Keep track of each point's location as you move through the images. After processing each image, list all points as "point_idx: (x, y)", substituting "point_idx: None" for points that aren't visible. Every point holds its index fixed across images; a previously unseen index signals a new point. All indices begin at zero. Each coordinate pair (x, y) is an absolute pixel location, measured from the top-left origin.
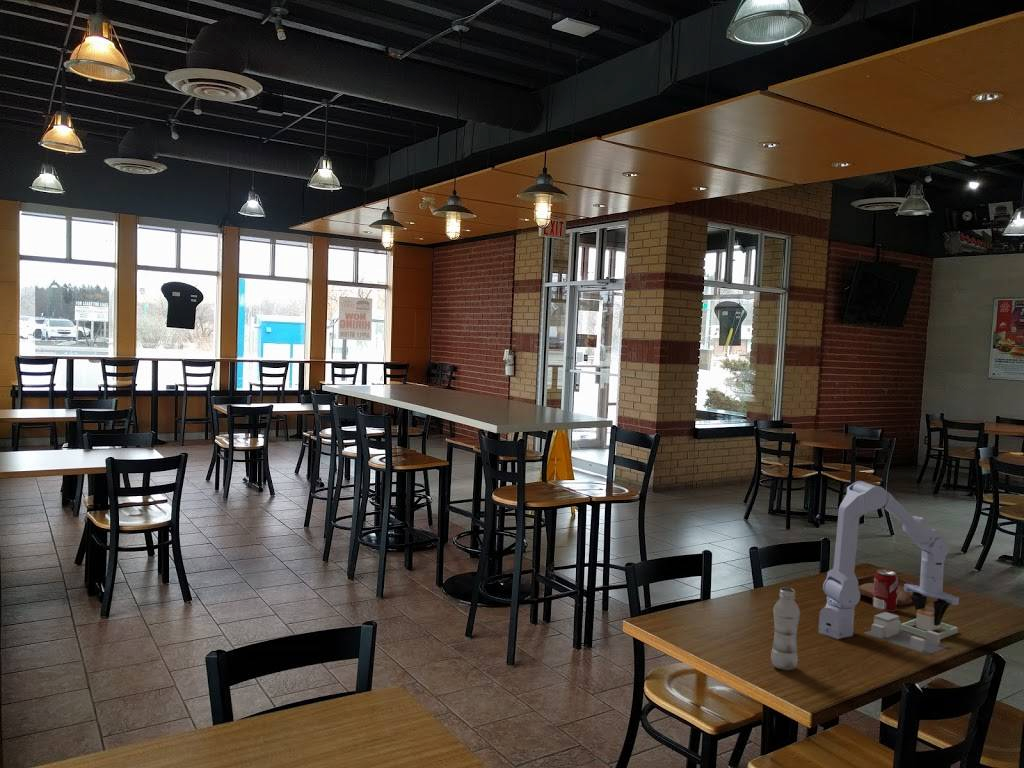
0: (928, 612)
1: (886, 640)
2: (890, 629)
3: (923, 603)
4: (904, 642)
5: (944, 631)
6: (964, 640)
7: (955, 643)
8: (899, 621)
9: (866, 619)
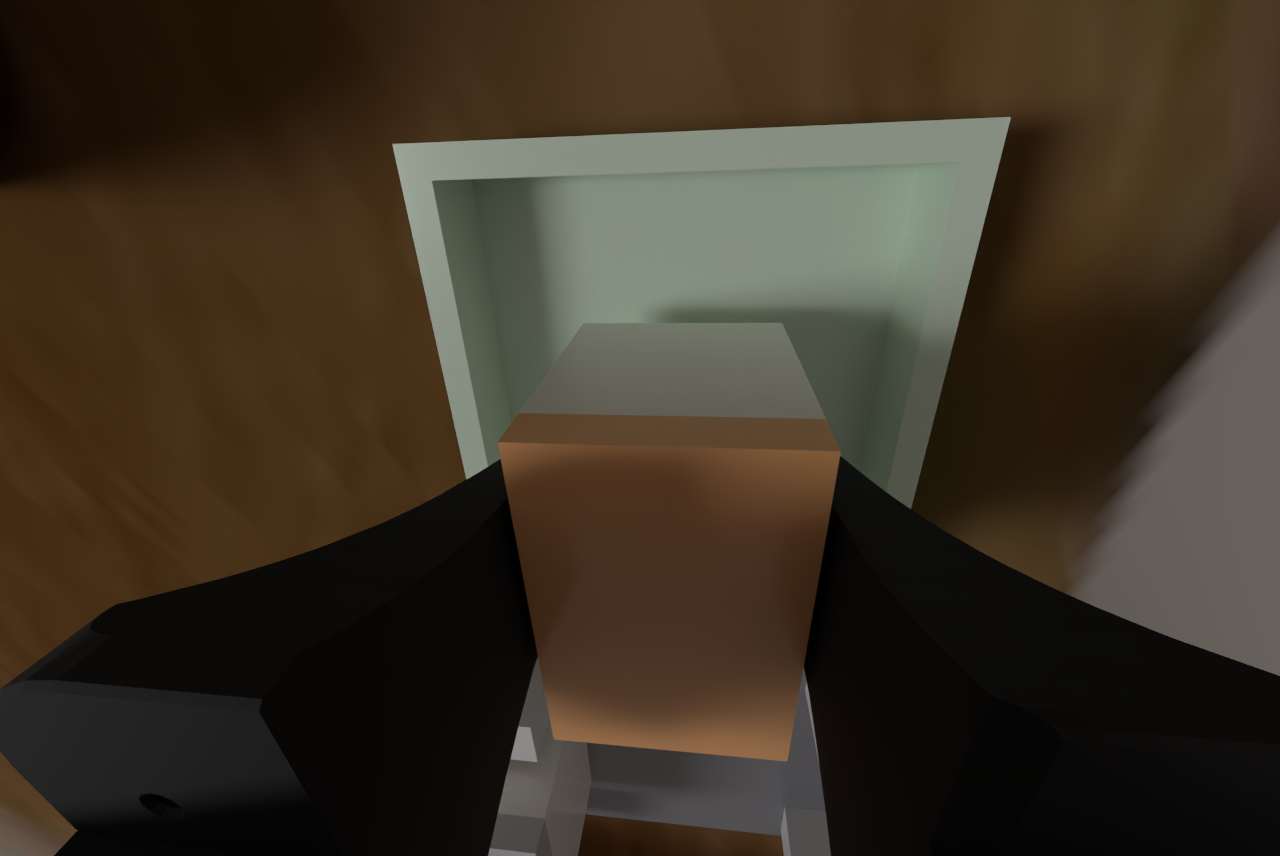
0: (718, 722)
1: (622, 815)
2: (577, 814)
3: (475, 632)
4: (708, 783)
5: (896, 486)
6: (1072, 245)
7: (995, 443)
8: (529, 738)
9: (209, 525)
